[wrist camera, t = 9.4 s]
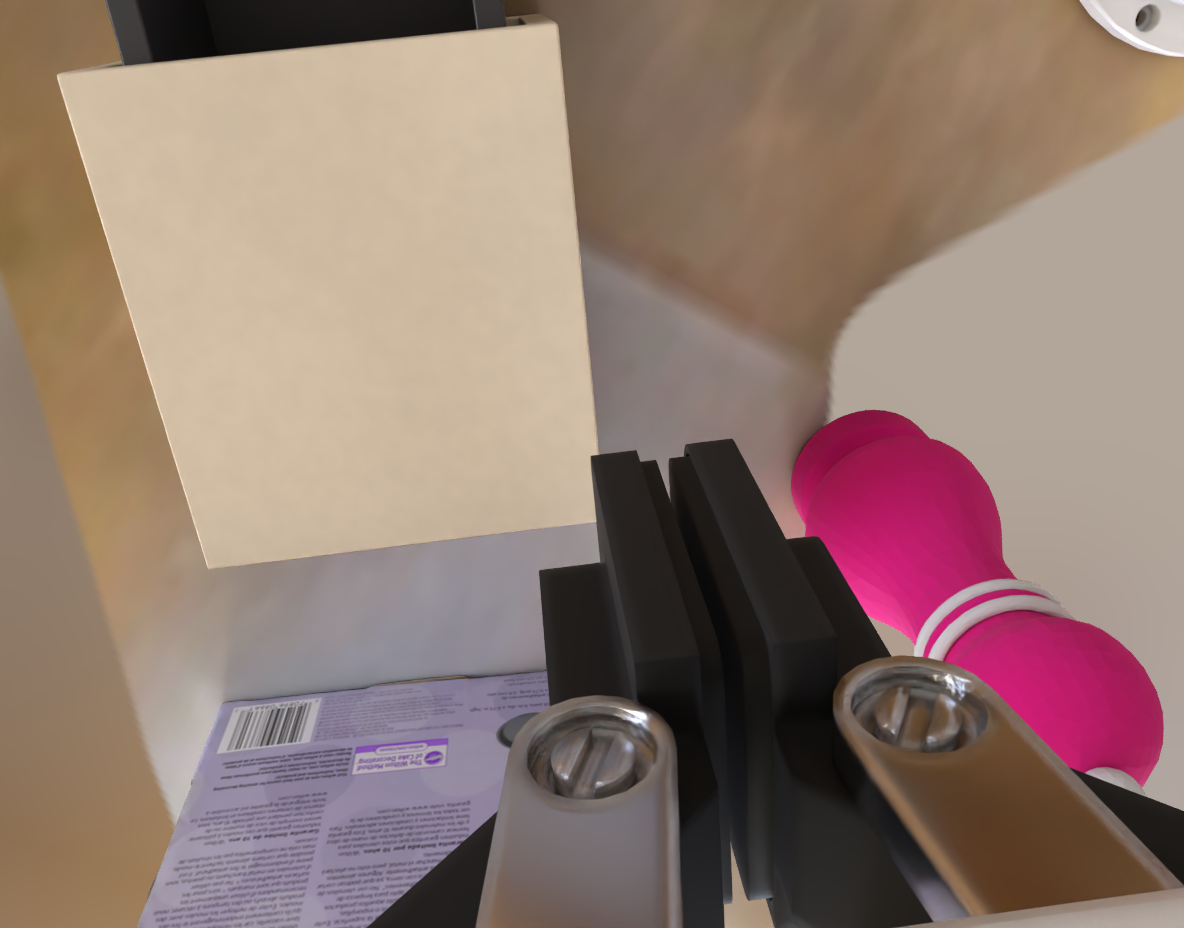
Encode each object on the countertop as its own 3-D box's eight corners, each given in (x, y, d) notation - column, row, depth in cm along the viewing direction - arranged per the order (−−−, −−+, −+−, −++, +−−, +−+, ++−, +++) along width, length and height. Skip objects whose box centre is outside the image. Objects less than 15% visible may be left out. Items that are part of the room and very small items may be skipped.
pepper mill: (919, 370, 41) (1255, 671, 23) (960, 509, 44) (1283, 870, 26) (756, 438, 42) (958, 783, 24) (807, 571, 45) (1020, 964, 27)
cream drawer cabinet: (167, 51, 33) (54, 73, 25) (541, 13, 34) (558, 22, 25) (269, 444, 40) (207, 570, 31) (581, 406, 40) (605, 521, 32)
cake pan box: (217, 783, 47) (76, 1191, 31) (192, 699, 45) (26, 1092, 29) (620, 738, 48) (683, 1112, 32) (615, 654, 46) (680, 1010, 30)
